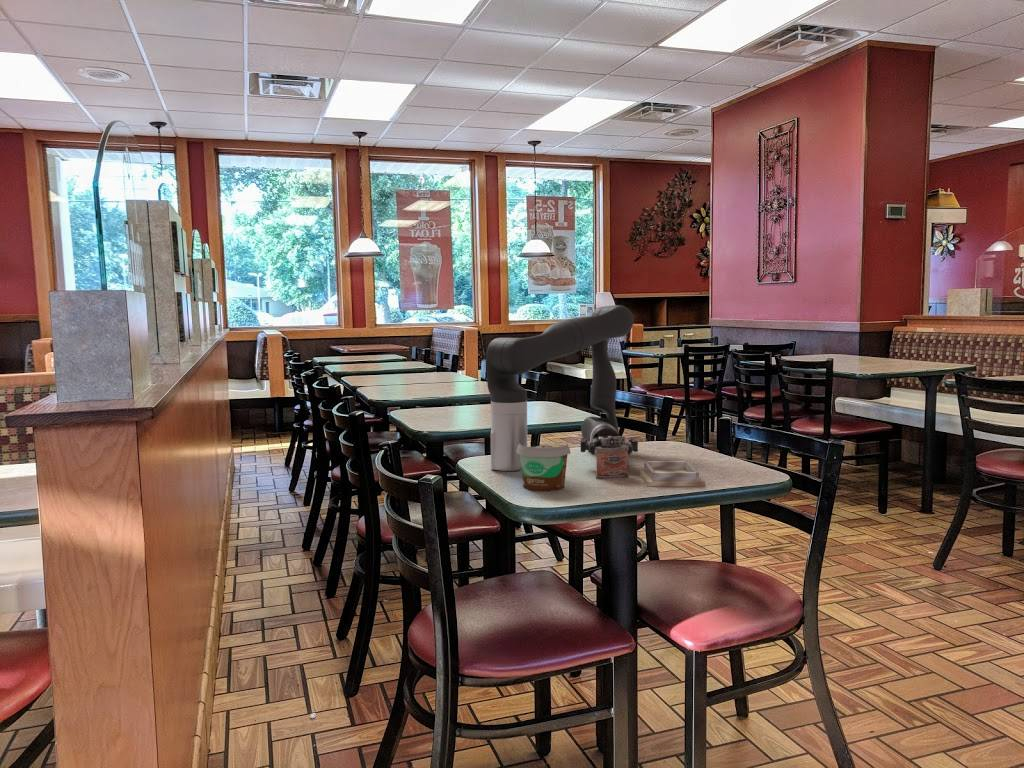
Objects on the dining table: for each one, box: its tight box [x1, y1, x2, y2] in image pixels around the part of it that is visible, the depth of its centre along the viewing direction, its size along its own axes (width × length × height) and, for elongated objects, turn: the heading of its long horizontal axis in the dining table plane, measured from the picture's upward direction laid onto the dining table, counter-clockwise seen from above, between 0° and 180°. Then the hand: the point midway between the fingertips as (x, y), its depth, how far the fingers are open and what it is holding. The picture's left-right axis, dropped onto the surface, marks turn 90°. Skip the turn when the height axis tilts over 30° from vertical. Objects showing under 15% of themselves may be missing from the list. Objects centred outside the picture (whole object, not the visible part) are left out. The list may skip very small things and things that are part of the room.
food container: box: [517, 443, 571, 493], centre depth 169 cm, size 12×6×10 cm, turn 76°
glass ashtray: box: [638, 460, 706, 487], centre depth 178 cm, size 13×14×3 cm
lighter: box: [595, 435, 629, 481], centre depth 180 cm, size 8×3×10 cm, turn 104°
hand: (611, 450), depth 183 cm, fingers open, 8 cm apart
